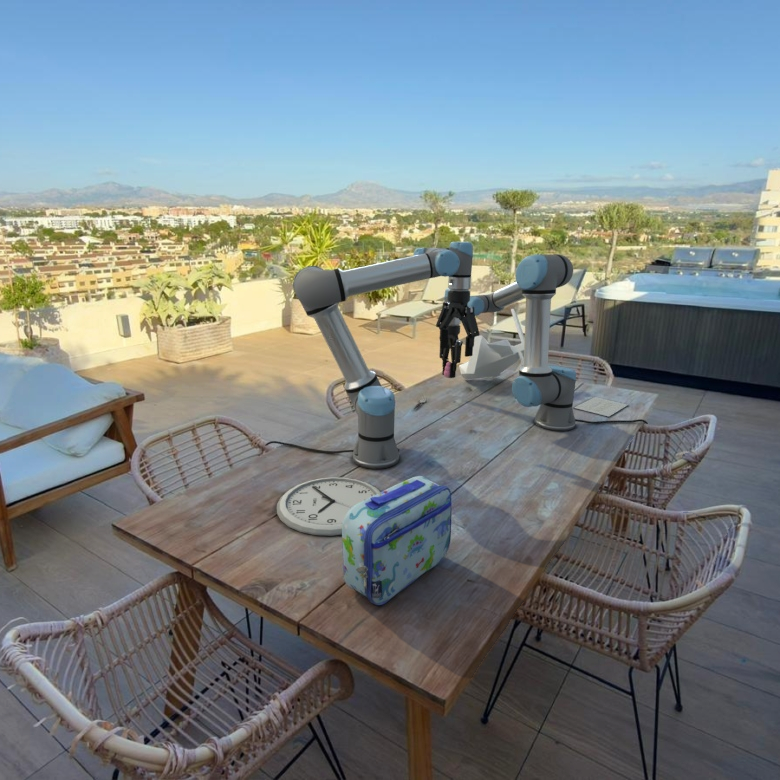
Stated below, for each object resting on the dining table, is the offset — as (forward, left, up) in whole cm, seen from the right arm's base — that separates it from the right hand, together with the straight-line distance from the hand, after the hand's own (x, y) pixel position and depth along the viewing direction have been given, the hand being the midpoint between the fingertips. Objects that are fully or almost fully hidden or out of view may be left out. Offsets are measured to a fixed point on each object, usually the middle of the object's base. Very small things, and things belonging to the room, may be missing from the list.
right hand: (448, 375), depth 234 cm
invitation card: (-66, +4, -10) cm, 67 cm away
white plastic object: (-24, -19, -10) cm, 32 cm away
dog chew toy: (0, 0, 0) cm, 0 cm away
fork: (+12, +15, -10) cm, 21 cm away
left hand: (-2, +49, +22) cm, 54 cm away
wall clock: (+30, +103, -10) cm, 107 cm away
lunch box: (+9, +131, -10) cm, 131 cm away
